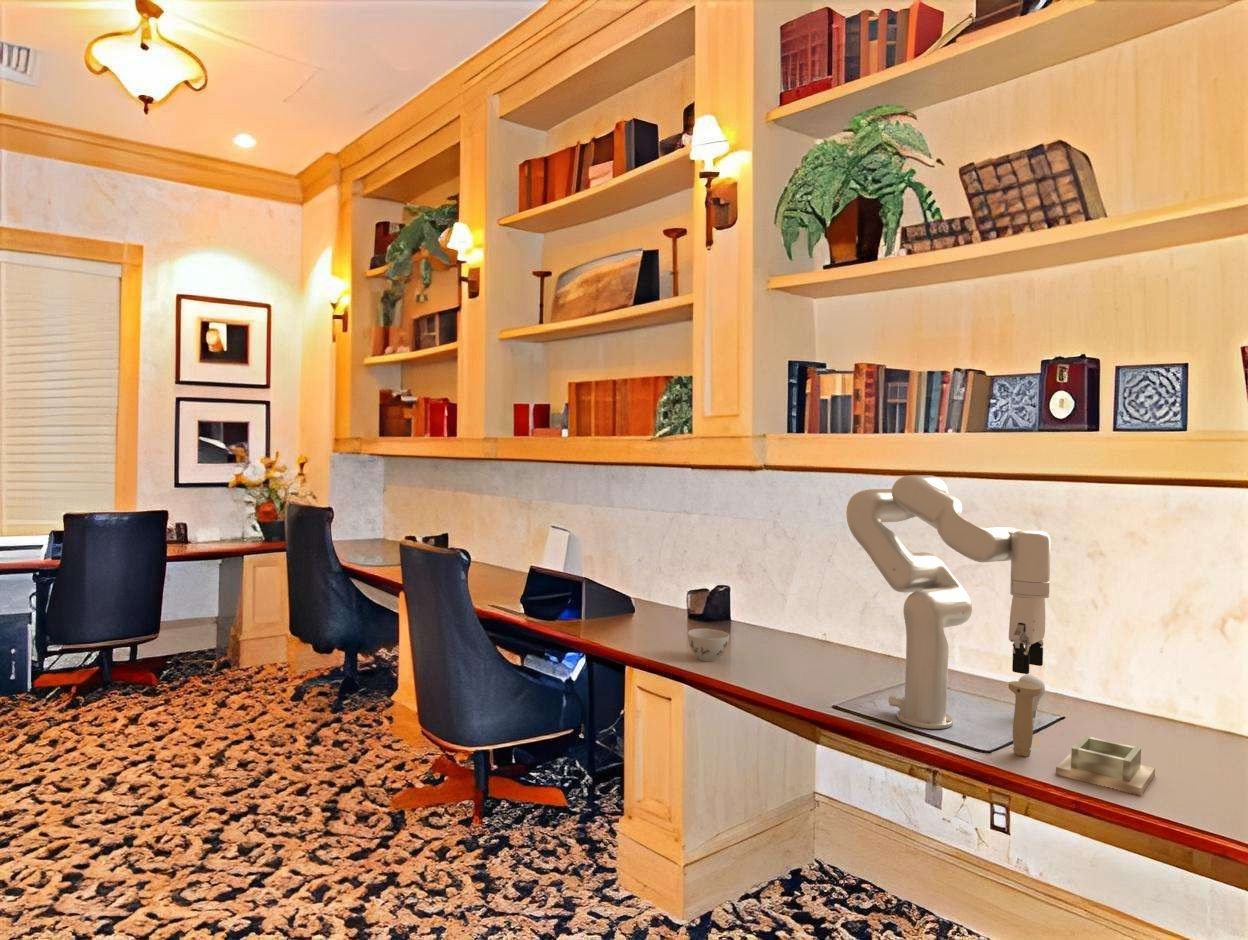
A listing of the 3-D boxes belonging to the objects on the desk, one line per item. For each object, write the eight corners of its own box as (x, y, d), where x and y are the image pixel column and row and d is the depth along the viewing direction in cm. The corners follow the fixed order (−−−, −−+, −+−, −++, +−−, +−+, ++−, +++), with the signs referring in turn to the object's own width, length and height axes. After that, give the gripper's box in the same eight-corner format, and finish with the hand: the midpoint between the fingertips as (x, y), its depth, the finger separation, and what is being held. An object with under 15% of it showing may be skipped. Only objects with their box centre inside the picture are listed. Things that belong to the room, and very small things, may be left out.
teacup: (707, 666, 251) (708, 639, 250) (678, 657, 260) (678, 631, 260) (742, 659, 260) (743, 633, 260) (713, 651, 270) (714, 625, 270)
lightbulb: (1042, 725, 205) (1044, 679, 205) (1014, 720, 208) (1016, 675, 208) (1044, 718, 211) (1046, 673, 210) (1017, 713, 214) (1018, 669, 213)
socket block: (1055, 774, 174) (1056, 747, 174) (1073, 756, 185) (1074, 730, 185) (1140, 795, 165) (1142, 767, 164) (1154, 775, 175) (1156, 748, 175)
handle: (1013, 747, 189) (1016, 680, 189) (1042, 757, 184) (1045, 687, 183) (1001, 752, 186) (1004, 683, 186) (1030, 761, 181) (1033, 690, 181)
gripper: (1023, 582, 193) (1021, 659, 193) (998, 591, 180) (996, 673, 180) (1059, 586, 188) (1057, 664, 188) (1036, 595, 175) (1034, 679, 175)
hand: (1027, 668), depth 184 cm, fingers open, 9 cm apart
